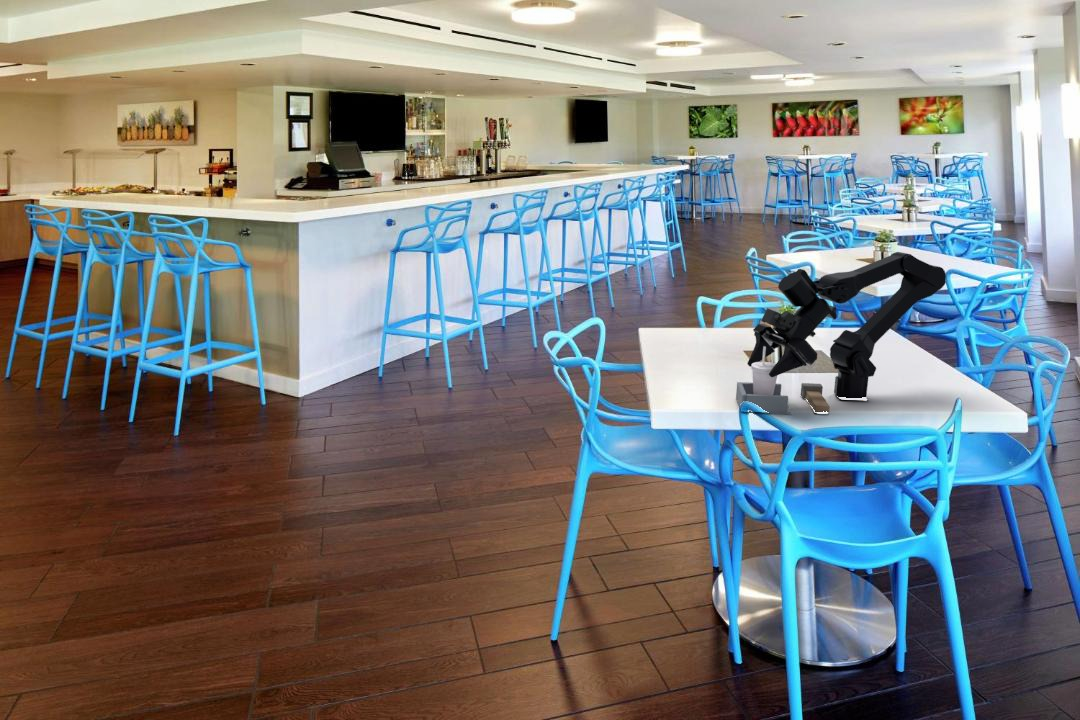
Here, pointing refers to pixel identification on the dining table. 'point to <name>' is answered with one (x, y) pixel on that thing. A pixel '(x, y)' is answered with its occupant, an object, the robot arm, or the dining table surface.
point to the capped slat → (814, 396)
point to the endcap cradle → (763, 399)
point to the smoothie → (763, 377)
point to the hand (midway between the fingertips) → (759, 370)
